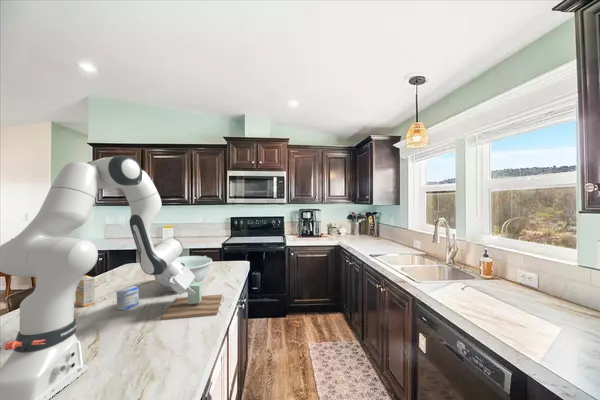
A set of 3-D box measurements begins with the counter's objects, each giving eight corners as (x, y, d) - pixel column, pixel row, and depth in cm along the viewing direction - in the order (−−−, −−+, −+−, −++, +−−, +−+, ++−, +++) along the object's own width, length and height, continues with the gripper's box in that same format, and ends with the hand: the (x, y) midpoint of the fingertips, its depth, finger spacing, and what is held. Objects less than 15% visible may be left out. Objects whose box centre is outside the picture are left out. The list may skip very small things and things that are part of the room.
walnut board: (216, 315, 112) (216, 312, 112) (161, 320, 108) (161, 317, 108) (222, 296, 134) (222, 294, 134) (176, 300, 129) (176, 297, 129)
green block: (199, 303, 119) (199, 285, 119) (187, 304, 118) (187, 286, 118) (201, 299, 124) (201, 282, 124) (190, 299, 123) (190, 282, 123)
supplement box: (74, 304, 125) (74, 277, 125) (86, 301, 129) (86, 274, 129) (83, 307, 121) (83, 279, 121) (95, 304, 125) (95, 276, 126)
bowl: (184, 300, 129) (184, 271, 129) (135, 293, 140) (135, 266, 140) (223, 281, 160) (223, 257, 160) (181, 276, 170) (181, 254, 170)
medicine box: (124, 310, 117) (124, 291, 117) (116, 310, 118) (116, 291, 118) (138, 304, 125) (138, 286, 125) (131, 303, 126) (130, 285, 126)
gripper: (172, 272, 109) (196, 294, 111) (184, 261, 129) (205, 280, 131) (160, 284, 108) (185, 305, 110) (174, 271, 128) (195, 289, 130)
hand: (196, 291), depth 121 cm, fingers closed on green block, 5 cm apart
